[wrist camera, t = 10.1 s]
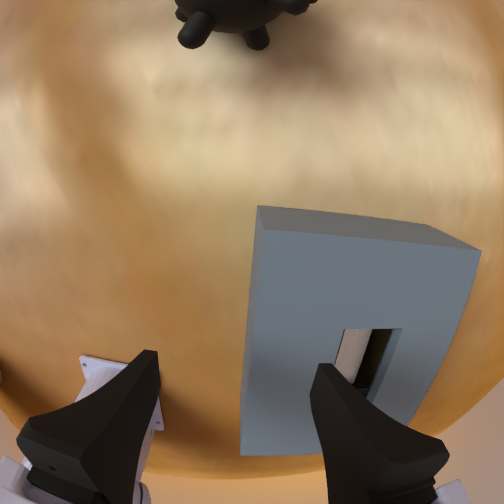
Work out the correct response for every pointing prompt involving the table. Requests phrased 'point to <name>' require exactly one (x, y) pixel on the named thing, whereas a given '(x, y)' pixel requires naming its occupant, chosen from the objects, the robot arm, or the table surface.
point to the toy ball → (232, 19)
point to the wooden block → (351, 352)
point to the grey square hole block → (344, 315)
